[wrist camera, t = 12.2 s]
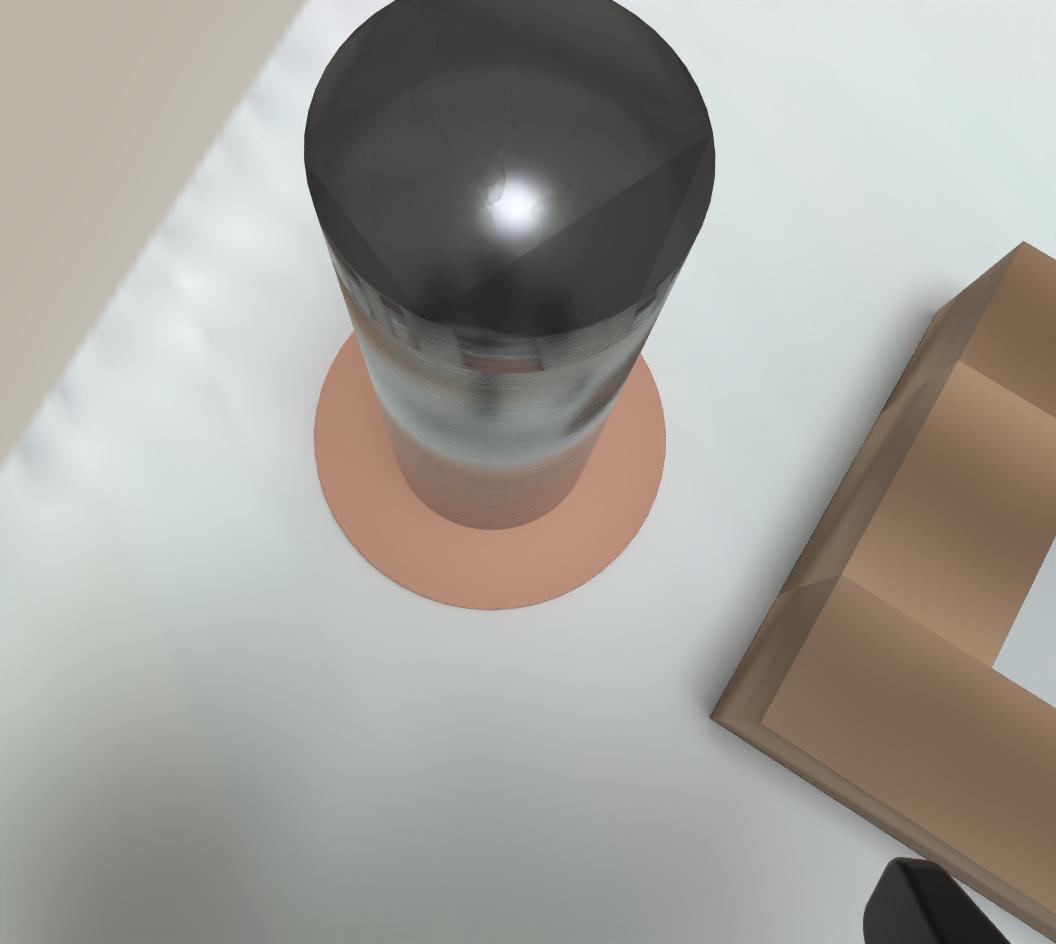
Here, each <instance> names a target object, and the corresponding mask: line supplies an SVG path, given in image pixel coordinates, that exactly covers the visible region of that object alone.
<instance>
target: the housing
mask: <svg viewBox="0 0 1056 944" xmlns="http://www.w3.org/2000/svg"><path fill="white" fill-rule="evenodd" d="M1055 536H1056V260H1055V259H1053V258H1052V257H1050V256H1048V255H1047V254H1045V253H1043V252H1041V251H1040V250H1038V249H1036V248H1035V247H1033V246H1031V245H1029V244H1028V243H1026V242H1024V241H1023V242H1022V243H1020V244H1019V245H1018V246H1017V247H1016V248H1014V249H1013V250H1012V251H1011V252H1010V253H1008V254H1007V255H1006V256H1005V257H1003V258H1002V259H1001V260H1000V261H999V262H997V263H996V264H995V265H994V266H992V267H991V268H990V269H989V270H988V271H986V272H985V273H984V274H983V275H981V276H980V277H979V278H978V279H977V280H975V281H974V282H973V283H972V284H970V285H969V286H968V287H967V288H966V289H964V290H963V291H962V292H961V293H959V294H958V295H957V296H956V297H955V298H953V299H952V300H951V301H950V302H948V303H947V304H946V305H945V306H944V307H942V308H941V309H940V310H939V311H938V312H937V314H936V316H935V318H934V319H933V321H932V323H931V325H930V326H929V328H928V330H927V332H926V334H925V335H924V337H923V339H922V341H921V342H920V344H919V346H918V348H917V350H916V351H915V353H914V355H913V357H912V358H911V360H910V362H909V364H908V366H907V367H906V369H905V371H904V373H903V374H902V376H901V378H900V380H899V382H898V383H897V385H896V387H895V389H894V390H893V392H892V394H891V396H890V398H889V399H888V401H887V403H886V405H885V407H884V408H883V410H882V412H881V414H880V415H879V417H878V419H877V421H876V423H875V424H874V426H873V428H872V430H871V431H870V433H869V435H868V437H867V439H866V440H865V442H864V444H863V446H862V447H861V449H860V451H859V453H858V455H857V456H856V458H855V460H854V462H853V463H852V465H851V467H850V469H849V471H848V472H847V474H846V476H845V478H844V479H843V481H842V483H841V485H840V487H839V488H838V490H837V492H836V494H835V496H834V497H833V499H832V501H831V503H830V504H829V506H828V508H827V510H826V512H825V513H824V515H823V517H822V519H821V520H820V522H819V524H818V526H817V528H816V529H815V531H814V533H813V535H812V536H811V538H810V540H809V542H808V544H807V545H806V547H805V549H804V551H803V552H802V554H801V556H800V558H799V560H798V561H797V563H796V565H795V567H794V568H793V570H792V572H791V574H790V576H789V577H788V579H787V581H786V583H785V584H784V586H783V588H782V590H781V592H780V593H779V595H778V597H777V599H776V601H775V602H774V604H773V606H772V608H771V609H770V611H769V613H768V615H767V617H766V618H765V620H764V622H763V624H762V625H761V627H760V629H759V631H758V633H757V634H756V636H755V638H754V640H753V641H752V643H751V645H750V647H749V649H748V650H747V652H746V654H745V656H744V657H743V659H742V661H741V663H740V665H739V666H738V668H737V670H736V672H735V673H734V675H733V677H732V679H731V681H730V682H729V684H728V686H727V688H726V690H725V691H724V693H723V695H722V697H721V698H720V700H719V702H718V704H717V706H716V707H715V709H714V711H713V713H712V714H711V716H710V718H711V719H712V720H714V721H715V722H717V723H718V724H720V725H721V726H723V727H724V728H726V729H727V730H729V731H731V732H732V733H734V734H735V735H737V736H738V737H740V738H741V739H743V740H744V741H746V742H747V743H749V744H751V745H752V746H754V747H755V748H757V749H758V750H760V751H761V752H763V753H764V754H766V755H767V756H769V757H771V758H772V759H774V760H775V761H777V762H778V763H780V764H781V765H783V766H784V767H786V768H787V769H789V770H791V771H792V772H794V773H795V774H797V775H798V776H800V777H801V778H803V779H804V780H806V781H807V782H809V783H811V784H812V785H814V786H815V787H817V788H818V789H820V790H821V791H823V792H824V793H826V794H827V795H829V796H830V797H832V798H834V799H835V800H837V801H838V802H840V803H841V804H843V805H844V806H846V807H847V808H849V809H850V810H852V811H854V812H855V813H857V814H858V815H860V816H861V817H863V818H864V819H866V820H867V821H869V822H870V823H872V824H874V825H875V826H877V827H878V828H880V829H881V830H883V831H884V832H886V833H887V834H889V835H890V836H892V837H894V838H895V839H897V840H898V841H900V842H901V843H903V844H904V845H906V846H907V847H909V848H910V849H912V850H913V851H915V852H917V853H918V854H920V855H921V856H923V857H924V858H926V859H927V860H929V861H932V862H935V863H937V864H938V865H940V866H941V867H942V868H944V869H945V870H946V871H947V872H948V873H949V874H950V875H952V876H953V877H955V878H957V879H958V880H960V881H961V882H963V883H964V884H966V885H967V886H969V887H970V888H972V889H973V890H975V891H977V892H978V893H980V894H981V895H983V896H984V897H986V898H987V899H989V900H990V901H992V902H993V903H995V904H996V905H998V906H1000V907H1001V908H1003V909H1004V910H1006V911H1007V912H1009V913H1010V914H1012V915H1013V916H1015V917H1016V918H1018V919H1020V920H1021V921H1023V922H1024V923H1026V924H1027V925H1029V926H1030V927H1032V928H1033V929H1035V930H1036V931H1038V932H1040V933H1041V934H1043V935H1044V936H1046V937H1047V938H1049V939H1050V940H1052V941H1053V942H1055V943H1056V708H1054V707H1053V706H1051V705H1049V704H1048V703H1046V702H1045V701H1043V700H1041V699H1040V698H1038V697H1037V696H1035V695H1033V694H1032V693H1030V692H1029V691H1027V690H1025V689H1024V688H1022V687H1021V686H1019V685H1018V684H1016V683H1014V682H1013V681H1011V680H1010V679H1008V678H1006V677H1005V676H1003V675H1002V674H1000V673H998V672H997V671H995V670H994V669H992V666H993V664H994V662H995V660H996V658H997V656H998V654H999V652H1000V650H1001V648H1002V646H1003V643H1004V641H1005V639H1006V637H1007V635H1008V633H1009V631H1010V629H1011V627H1012V625H1013V623H1014V621H1015V619H1016V617H1017V615H1018V613H1019V610H1020V608H1021V606H1022V604H1023V602H1024V600H1025V598H1026V596H1027V594H1028V592H1029V590H1030V588H1031V586H1032V584H1033V582H1034V580H1035V578H1036V575H1037V573H1038V571H1039V569H1040V567H1041V565H1042V563H1043V561H1044V559H1045V557H1046V555H1047V553H1048V551H1049V549H1050V547H1051V545H1052V542H1053V540H1054V538H1055Z"/></svg>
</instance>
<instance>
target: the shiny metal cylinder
mask: <svg viewBox="0 0 1056 944" xmlns="http://www.w3.org/2000/svg"><path fill="white" fill-rule="evenodd" d="M304 162H305V169H306V176H307V183H308V187H309V190H310V194H311V197H312V201H313V204H314V207H315V210H316V214H317V217H318V220H319V223H320V226H321V229H322V232H323V235H324V238H325V241H326V244H327V247H328V250H329V253H330V256H331V259H332V262H333V266H334V269H335V272H336V275H337V278H338V281H339V284H340V287H341V290H342V293H343V296H344V299H345V302H346V305H347V308H348V311H349V315H350V318H351V321H352V324H353V327H354V330H355V333H356V336H357V339H358V342H359V345H360V348H361V351H362V354H363V357H364V360H365V363H366V367H367V370H368V373H369V376H370V379H371V382H372V385H373V388H374V391H375V394H376V397H377V400H378V403H379V406H380V409H381V412H382V416H383V419H384V422H385V425H386V428H387V431H388V434H389V437H390V440H391V443H392V446H393V449H394V452H395V455H396V458H397V461H398V465H399V467H400V470H401V472H402V474H403V476H404V479H405V480H406V482H407V483H408V485H409V487H410V488H411V490H412V491H413V492H414V493H415V494H416V496H417V497H418V498H419V499H420V500H421V501H422V502H423V503H424V504H425V505H426V506H427V507H428V508H430V509H431V510H433V511H434V512H435V513H437V514H438V515H440V516H442V517H444V518H445V519H447V520H449V521H451V522H454V523H457V524H459V525H462V526H466V527H470V528H475V529H483V530H503V529H509V528H515V527H518V526H522V525H525V524H528V523H530V522H532V521H535V520H537V519H539V518H541V517H542V516H544V515H546V514H547V513H549V512H550V511H552V510H553V509H554V508H555V507H556V506H558V505H559V504H560V503H561V502H562V501H563V500H564V499H565V498H566V497H567V496H568V494H569V493H570V492H571V490H572V489H573V487H574V486H575V485H576V483H577V481H578V479H579V477H580V475H581V473H582V471H583V469H584V467H585V465H586V463H587V461H588V459H589V457H590V455H591V453H592V451H593V449H594V447H595V444H596V442H597V440H598V438H599V436H600V434H601V432H602V430H603V428H604V426H605V424H606V422H607V420H608V418H609V416H610V414H611V412H612V410H613V408H614V406H615V403H616V401H617V399H618V397H619V395H620V393H621V391H622V389H623V387H624V385H625V383H626V381H627V379H628V377H629V375H630V373H631V371H632V369H633V367H634V364H635V362H636V360H637V358H638V356H639V354H640V352H641V350H642V348H643V346H644V344H645V342H646V340H647V338H648V336H649V334H650V332H651V330H652V328H653V326H654V323H655V321H656V319H657V317H658V315H659V313H660V311H661V309H662V307H663V305H664V303H665V301H666V299H667V297H668V295H669V293H670V291H671V289H672V287H673V285H674V282H675V280H676V278H677V276H678V274H679V272H680V270H681V268H682V266H683V264H684V262H685V260H686V258H687V256H688V254H689V252H690V250H691V248H692V246H693V243H694V241H695V239H696V237H697V235H698V233H699V231H700V229H701V227H702V225H703V222H704V219H705V216H706V213H707V210H708V207H709V205H710V201H711V195H712V190H713V185H714V179H715V148H714V138H713V131H712V127H711V123H710V119H709V115H708V111H707V108H706V106H705V103H704V101H703V98H702V96H701V94H700V91H699V89H698V87H697V85H696V83H695V81H694V80H693V78H692V76H691V74H690V73H689V71H688V69H687V67H686V66H685V65H684V63H683V62H682V61H681V59H680V58H679V57H678V55H677V54H676V53H675V52H674V50H673V49H672V48H671V47H670V45H669V44H668V43H667V42H666V41H665V40H664V39H663V38H662V37H661V36H660V35H659V34H658V33H657V32H656V31H655V30H654V29H652V28H651V27H650V26H649V25H647V24H646V23H645V22H644V21H643V20H641V19H640V18H639V17H638V16H636V15H635V14H633V13H632V12H630V11H629V10H627V9H625V8H624V7H622V6H621V5H619V4H617V3H616V2H614V1H612V0H395V1H393V2H392V3H390V4H389V5H387V6H386V7H384V8H383V9H381V10H379V11H378V12H376V13H375V14H374V15H372V16H371V17H370V18H369V19H368V20H366V21H365V22H364V23H363V24H362V25H361V26H359V27H358V28H357V29H356V30H355V31H354V32H353V33H352V34H351V35H350V37H349V38H348V39H347V40H346V41H345V42H344V43H343V44H342V45H341V46H340V48H339V49H338V51H337V52H336V53H335V55H334V56H333V58H332V59H331V61H330V62H329V64H328V65H327V67H326V69H325V71H324V73H323V75H322V77H321V79H320V81H319V83H318V85H317V87H316V89H315V92H314V95H313V98H312V101H311V105H310V108H309V111H308V116H307V122H306V129H305V135H304Z"/></svg>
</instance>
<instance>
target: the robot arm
mask: <svg viewBox="0 0 1056 944" xmlns="http://www.w3.org/2000/svg"><path fill="white" fill-rule="evenodd" d="M863 933H864V940H865V944H1011V943H1010V942H1009V941H1008V940H1007V939H1006V938H1005V937H1004V935H1003V934H1002V933H1001V932H1000V931H999V930H998V929H997V928H996V926H995V925H994V924H993V923H992V922H991V921H990V920H989V919H988V917H987V916H986V915H985V914H984V913H983V912H982V911H981V910H980V908H979V907H978V906H977V905H976V904H975V903H974V902H973V901H972V899H971V898H970V897H969V896H968V895H967V894H966V893H965V892H964V890H963V889H962V888H961V887H960V886H959V885H958V884H957V883H956V881H955V880H954V879H953V878H952V877H951V876H950V875H949V874H948V872H947V871H946V870H945V869H944V868H942V867H941V866H940V865H938V864H937V863H935V862H932V861H929V860H921V859H912V858H904V857H896V858H894V859H893V860H891V861H890V862H889V863H888V865H887V866H886V868H885V870H884V872H883V874H882V876H881V878H880V880H879V882H878V883H877V885H876V887H875V889H874V891H873V893H872V895H871V897H870V899H869V901H868V903H867V905H866V908H865V911H864V917H863Z"/></svg>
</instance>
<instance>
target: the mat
mask: <svg viewBox="0 0 1056 944" xmlns="http://www.w3.org/2000/svg"><path fill="white" fill-rule="evenodd" d="M314 440H315V457H316V463H317V469H318V475H319V479H320V482H321V485H322V488H323V492H324V495H325V498H326V500H327V502H328V504H329V506H330V508H331V511H332V513H333V515H334V517H335V519H336V520H337V522H338V523H339V525H340V527H341V528H342V530H343V531H344V533H345V534H346V536H347V537H348V539H349V540H350V541H351V542H352V543H353V545H354V546H355V547H356V548H357V549H358V550H359V551H360V553H361V554H362V555H363V556H364V557H365V558H366V559H367V560H368V561H369V562H370V563H371V564H373V565H374V566H375V567H376V568H377V569H378V570H379V571H381V572H382V573H383V574H384V575H386V576H387V577H389V578H390V579H392V580H393V581H395V582H396V583H398V584H399V585H401V586H402V587H405V588H407V589H409V590H411V591H413V592H415V593H417V594H419V595H421V596H423V597H426V598H429V599H432V600H435V601H438V602H441V603H444V604H448V605H453V606H458V607H464V608H469V609H486V610H498V609H511V608H519V607H524V606H529V605H533V604H538V603H541V602H544V601H547V600H550V599H553V598H556V597H558V596H561V595H563V594H565V593H567V592H569V591H571V590H573V589H575V588H577V587H579V586H581V585H583V584H584V583H585V582H587V581H588V580H590V579H591V578H593V577H594V576H596V575H597V574H598V573H600V572H601V571H602V570H603V569H604V568H606V567H607V566H608V565H609V564H610V563H611V562H612V561H613V560H614V559H615V558H616V557H618V556H619V555H620V554H621V552H622V551H623V550H624V549H625V548H626V546H627V545H628V544H629V543H630V542H631V540H632V539H633V538H634V537H635V535H636V534H637V532H638V531H639V529H640V527H641V526H642V524H643V523H644V521H645V519H646V518H647V516H648V513H649V511H650V509H651V507H652V504H653V502H654V500H655V498H656V495H657V491H658V488H659V485H660V481H661V478H662V473H663V466H664V460H665V446H666V430H665V422H664V414H663V408H662V404H661V400H660V397H659V393H658V389H657V387H656V384H655V382H654V379H653V377H652V374H651V372H650V369H649V368H648V366H647V364H646V362H645V360H644V359H643V357H642V355H641V353H640V354H639V356H638V358H637V360H636V362H635V364H634V367H633V369H632V371H631V373H630V375H629V377H628V379H627V381H626V383H625V385H624V387H623V389H622V391H621V393H620V395H619V397H618V399H617V401H616V403H615V406H614V408H613V410H612V412H611V414H610V416H609V418H608V420H607V422H606V424H605V426H604V428H603V430H602V432H601V434H600V436H599V438H598V440H597V442H596V444H595V447H594V449H593V451H592V453H591V455H590V457H589V459H588V461H587V463H586V465H585V467H584V469H583V471H582V473H581V475H580V477H579V479H578V481H577V483H576V485H575V486H574V487H573V489H572V490H571V492H570V493H569V494H568V496H567V497H566V498H565V499H564V500H563V501H562V502H561V503H560V504H559V505H558V506H556V507H555V508H554V509H553V510H552V511H550V512H549V513H547V514H546V515H544V516H542V517H541V518H539V519H537V520H535V521H532V522H530V523H528V524H525V525H522V526H518V527H515V528H509V529H503V530H483V529H475V528H470V527H466V526H462V525H459V524H457V523H454V522H451V521H449V520H447V519H445V518H444V517H442V516H440V515H438V514H437V513H435V512H434V511H433V510H431V509H430V508H428V507H427V506H426V505H425V504H424V503H423V502H422V501H421V500H420V499H419V498H418V497H417V496H416V494H415V493H414V492H413V491H412V490H411V488H410V487H409V485H408V483H407V482H406V480H405V479H404V476H403V474H402V472H401V470H400V467H399V465H398V461H397V458H396V455H395V452H394V449H393V446H392V443H391V440H390V437H389V434H388V431H387V428H386V425H385V422H384V419H383V416H382V412H381V409H380V406H379V403H378V400H377V397H376V394H375V391H374V388H373V385H372V382H371V379H370V376H369V373H368V370H367V367H366V363H365V360H364V357H363V354H362V351H361V348H360V345H359V342H358V339H357V336H356V333H355V331H354V332H353V333H352V335H351V336H350V337H349V338H348V340H347V341H346V342H345V344H344V345H343V346H342V348H341V349H340V351H339V353H338V355H337V356H336V358H335V360H334V362H333V363H332V365H331V367H330V369H329V372H328V374H327V377H326V379H325V382H324V384H323V387H322V390H321V394H320V398H319V402H318V406H317V411H316V420H315V429H314Z"/></svg>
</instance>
